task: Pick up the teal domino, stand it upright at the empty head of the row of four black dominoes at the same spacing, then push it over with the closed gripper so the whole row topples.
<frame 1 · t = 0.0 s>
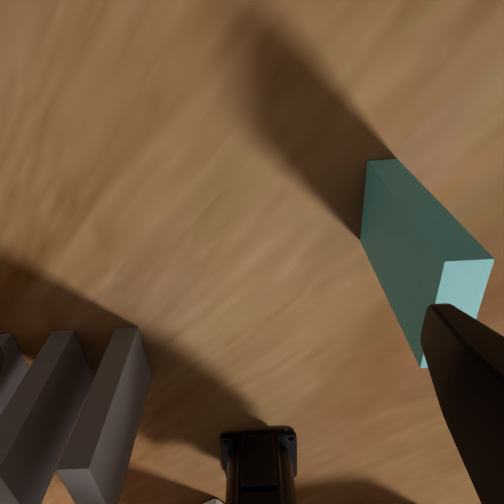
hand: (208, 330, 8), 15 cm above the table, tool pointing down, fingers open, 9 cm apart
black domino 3: (73, 355, 29), on the table
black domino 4: (13, 358, 29), on the table
black domino 2: (134, 352, 29), on the table
teal domino: (377, 202, 23), on the table
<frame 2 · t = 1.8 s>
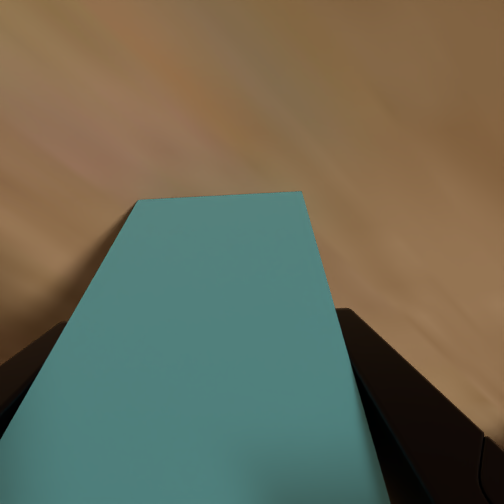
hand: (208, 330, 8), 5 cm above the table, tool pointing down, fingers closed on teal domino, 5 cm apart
teal domino: (221, 219, 13), on the table, touching gripper
when the fingers open (5 cm above the table, at t = 7.5 s): teal domino stays where it is, on the table.
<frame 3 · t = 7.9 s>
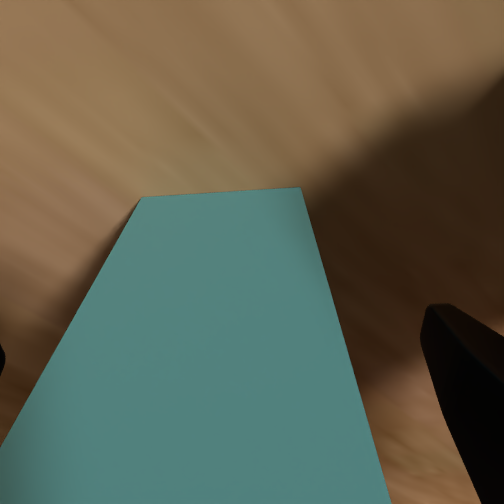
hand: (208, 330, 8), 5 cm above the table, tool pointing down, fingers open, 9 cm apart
teal domino: (223, 215, 13), on the table
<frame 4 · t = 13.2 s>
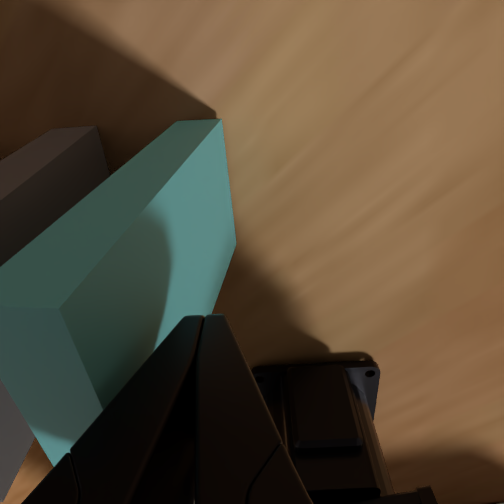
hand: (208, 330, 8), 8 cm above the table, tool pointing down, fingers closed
black domino 2: (93, 193, 15), on the table
teal domino: (209, 187, 15), on the table, tilted 9°
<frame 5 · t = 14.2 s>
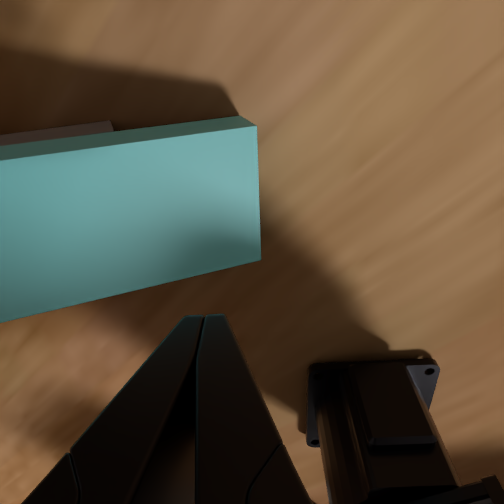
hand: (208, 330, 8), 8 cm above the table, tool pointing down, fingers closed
black domino 2: (128, 195, 14), point 1 cm above the table, tilted 69°, touching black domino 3, teal domino
teal domino: (251, 191, 14), point 1 cm above the table, tilted 69°, touching black domino 2
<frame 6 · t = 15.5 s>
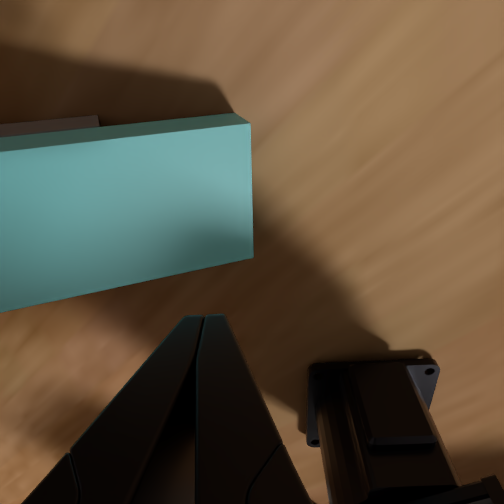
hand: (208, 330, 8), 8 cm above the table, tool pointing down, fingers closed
black domino 2: (113, 190, 14), point 1 cm above the table, tilted 70°, touching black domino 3, teal domino
teal domino: (244, 188, 14), point 1 cm above the table, tilted 70°, touching black domino 2
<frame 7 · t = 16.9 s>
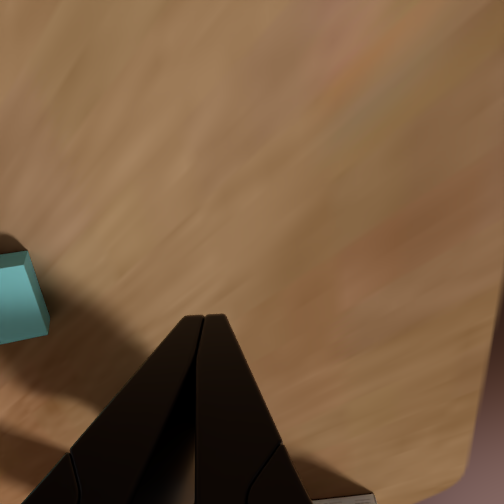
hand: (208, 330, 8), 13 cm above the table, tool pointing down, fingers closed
teal domino: (38, 293, 23), point 1 cm above the table, tilted 71°, touching black domino 2
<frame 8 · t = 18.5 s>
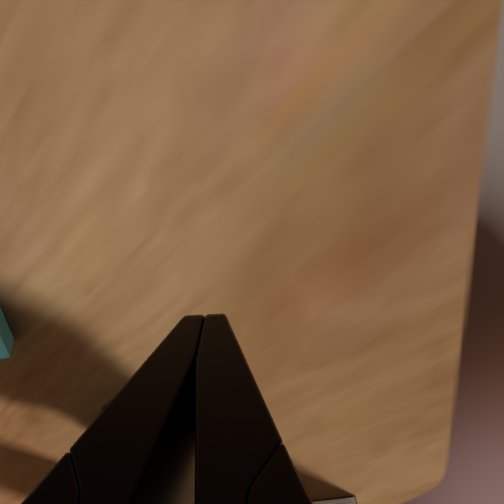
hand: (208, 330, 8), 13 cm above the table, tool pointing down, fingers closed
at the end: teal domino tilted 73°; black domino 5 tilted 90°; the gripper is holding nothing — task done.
